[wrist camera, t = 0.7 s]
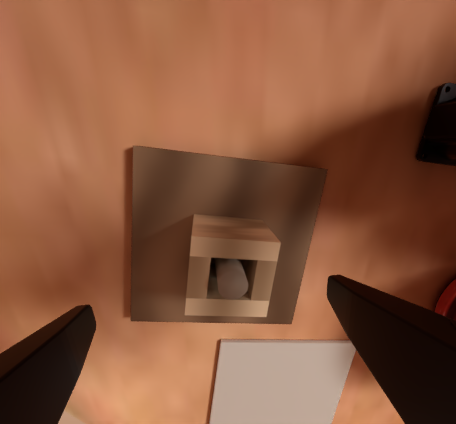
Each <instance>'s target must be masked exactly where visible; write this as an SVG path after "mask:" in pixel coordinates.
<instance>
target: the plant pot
mask: <svg viewBox="0 0 456 424" xmlns="http://www.w3.org/2000/svg"><path fill="white" fill-rule="evenodd" d="M435 312H436V313H438V314H441V315H443V316H446V317H447V318H451V319H454V320H456V279H455V280H454V281H453V282H452V283H451V284H450V285H449V286H448V287H447V288H446V289H445V290H444V292H443V293H442V295H441V296H440V298H439V300H438V302H437V305H436V309H435Z"/></svg>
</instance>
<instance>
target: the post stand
mask: <svg viewBox="0 0 456 424" xmlns="http://www.w3.org/2000/svg"><path fill="white" fill-rule="evenodd" d="M326 174H327V169H321V168H313V167H305V166H297V165H289V164H281V163H273V162H265V161H256V160H248V159H240V158H232V157H224V156H216V155H208V154H200V153H191V152H183V151H175V150H167V149H159V148H151V147H143V146H133V187H132V262H131V321H148V322H201V323H254V324H292V320H293V315H294V311H295V307H296V303H297V298H298V294H299V290H300V286H301V281H302V277H303V273H304V268H305V264H306V260H307V256H308V251H309V247H310V243H311V238H312V234H313V230H314V226H315V221H316V217H317V213H318V208H319V204H320V200H321V196H322V191H323V187H324V183H325V178H326ZM194 214H198V215H209V216H221V217H233V218H245V219H256V220H263V222H264V223H265V224H266V225H267V226H268V228H269V229H270V230H271V231H272V232H273V234H274V235H275V236H276V237H277V238H278V240H279V241H280V242H281V245H280V250H279V255H278V260H277V266H276V271H275V276H274V281H273V286H272V291H271V296H270V301H269V306H268V311H267V316H266V317H239V316H196V315H185V305H186V293H187V282H188V270H189V259H190V247H191V236H192V226H193V217H194ZM240 260H241V259H230V258H213V257H211V262H210V264H215V266H216V275H217V283H218V290H219V293H220V294H221V296H223V297H224V298H226V299H230V300H234V299H238V298H240V297H242V296H243V295H244V294H245V293H246V291H247V289H248V281H247V278H246V275H245V272H244V270H243V267H242V264H241V261H240Z"/></svg>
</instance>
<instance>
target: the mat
mask: <svg viewBox="0 0 456 424" xmlns="http://www.w3.org/2000/svg"><path fill="white" fill-rule="evenodd" d="M355 351H356V348H355V347H354V345H353V344H352V342H351V341H350V340H242V339H221V342H220V349H219V356H218V363H217V370H216V377H215V385H214V392H213V399H212V406H211V413H210V420H209V424H331V423H332V420H333V417H334V414H335V411H336V408H337V405H338V402H339V399H340V396H341V393H342V390H343V387H344V384H345V381H346V378H347V375H348V372H349V369H350V366H351V363H352V360H353V357H354V354H355Z"/></svg>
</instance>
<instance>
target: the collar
mask: <svg viewBox="0 0 456 424" xmlns="http://www.w3.org/2000/svg"><path fill="white" fill-rule="evenodd" d="M280 245H281V242H280V241H279V240H278V238H277V237H276V236H275V235H274V234H273V232H272V231H271V230H270V229H269V228H268V226H267V225H266V224H265V223H264V222H263V220H256V219H245V218H233V217H221V216H209V215H198V214H194V217H193V226H192V236H191V247H190V259H189V270H188V282H187V293H186V305H185V315H196V316H239V317H266V316H267V311H268V306H269V301H270V296H271V291H272V286H273V281H274V276H275V271H276V266H277V260H278V255H279V250H280ZM211 257H213V258H230V259H241V260H240V261H241V264H242V267H243V270H244V272H245V275H246V278H247V281H248V289H247V291H246V293H245V294H244V295H243V296H242V297H240V298H238V299H234V300H230V299H226V298H224V297H223V296H221V294H220V293H219V290H218V283H217V275H216V266H215V264H210V262H211Z"/></svg>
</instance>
